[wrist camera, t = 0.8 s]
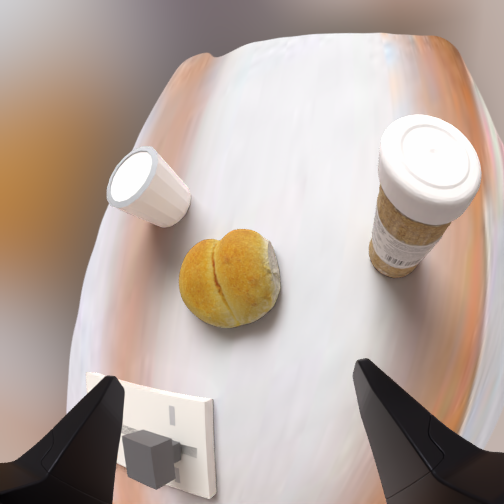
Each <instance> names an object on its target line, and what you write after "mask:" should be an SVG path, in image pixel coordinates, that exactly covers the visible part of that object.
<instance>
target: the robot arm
mask: <svg viewBox="0 0 504 504" xmlns="http://www.w3.org/2000/svg"><path fill="white" fill-rule="evenodd" d="M353 381H354V385H355V390H356V395H357V400H358V405H359V410H360V414H361V418H362V421H363V424H364V427H365V430H366V433H367V436H368V439H369V443H370V446H371V449H372V452H373V456H374V459H375V462H376V466H377V469H378V472H379V476H380V479H381V483H382V487H383V490H384V494H385V498H386V502H387V504H504V453H502V452H489V451H485V450H482V449H480V448H478V447H476V446H475V445H473V444H472V443H470V442H469V441H467V440H465V439H464V438H462V437H461V436H459V435H458V434H456V433H455V432H453V431H452V430H451V429H449V428H448V427H446V426H445V425H444V424H443V423H442V422H440V421H439V420H438V419H437V418H436V417H434V416H433V415H432V414H431V413H430V412H429V411H427V410H426V409H425V408H424V407H423V406H422V405H421V404H419V403H418V402H417V401H416V400H415V399H414V398H413V397H411V396H410V395H409V394H408V393H407V392H406V391H405V390H403V389H402V388H401V387H400V386H399V385H398V384H397V383H395V382H394V381H393V380H392V379H391V378H390V377H389V376H387V375H386V374H385V373H384V372H383V371H382V370H381V369H379V368H378V367H377V366H376V365H375V364H374V363H373V362H372V361H370V360H369V359H367V358H364V359H360V360H357V361H356V364H355V368H354V372H353ZM124 398H125V390H124V388H123V386H122V385H121V383H120V382H119V380H118V379H117V378H116V377H115V376H105V377H104V378H103V379H102V380H101V381H100V382H99V383H98V384H97V385H96V386H95V387H94V388H93V389H92V390H91V391H90V392H89V393H88V394H87V395H86V396H85V397H84V398H83V399H82V400H81V401H80V402H79V403H78V404H77V405H76V406H75V407H74V408H73V409H72V410H71V411H70V412H69V413H68V414H67V415H66V416H65V417H64V418H63V419H62V420H61V421H60V422H59V423H58V424H57V425H56V426H55V427H54V428H53V429H52V430H51V431H50V432H49V433H48V434H47V435H45V436H44V437H43V438H42V439H41V440H40V441H39V442H38V443H37V444H36V445H34V446H33V447H32V448H31V449H30V450H29V451H27V452H26V453H25V454H23V455H22V456H21V457H20V458H18V459H17V460H15V461H12V462H8V463H0V504H112V501H113V490H114V480H115V471H116V463H117V456H118V449H119V443H120V437H121V431H122V423H123V410H124Z"/></svg>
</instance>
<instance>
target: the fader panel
mask: <svg viewBox="0 0 504 504" xmlns="http://www.w3.org/2000/svg"><path fill="white" fill-rule="evenodd" d="M105 376H106V375H102V374H99V373H96V372H86V385H87V394H88V393H89V392H90V391H91V390H92V389H93V388H94V387H95V386H96V385H97V384H98V383H99V382H100V381H101V380H102V379H103V378H104V377H105ZM118 380H119V379H118ZM119 382H120V383H121V385H122V386H123V388H124V390H125V398H124V410H123V423H122V431H121V437H120V443H119V449H118V456H117V463H118V464H120V465H122V466H124V467H126V462H125V456H124V449H123V442H122V436H123V435H126V434H130V433H133V432H137V431H140V430H143V429H144V430H147V431H149V432H152V433H156V434H159V435H162V436H165V437H168V438H172V440H174V441H177V442H180V449H181V460H180V461H178V462H176V463H174V468H175V477H176V479H174V480H172V481H171V482H169V483H167V484H166V485H168V486H170V487H173V488H176V489H179V490H182V491H185V492H188V493H191V494H194V495H197V496H201V497H204V498H208V499H210V498H211V497H212V496H214V495H215V494H216V493H217V490H216V473H215V454H214V429H213V399H209V398H202V397H196V396H190V395H184V394H179V393H174V392H169V391H164V390H159V389H155V388H150V387H146V386H142V385H138V384H134V383H130V382H126V381H123V380H119Z"/></svg>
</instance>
